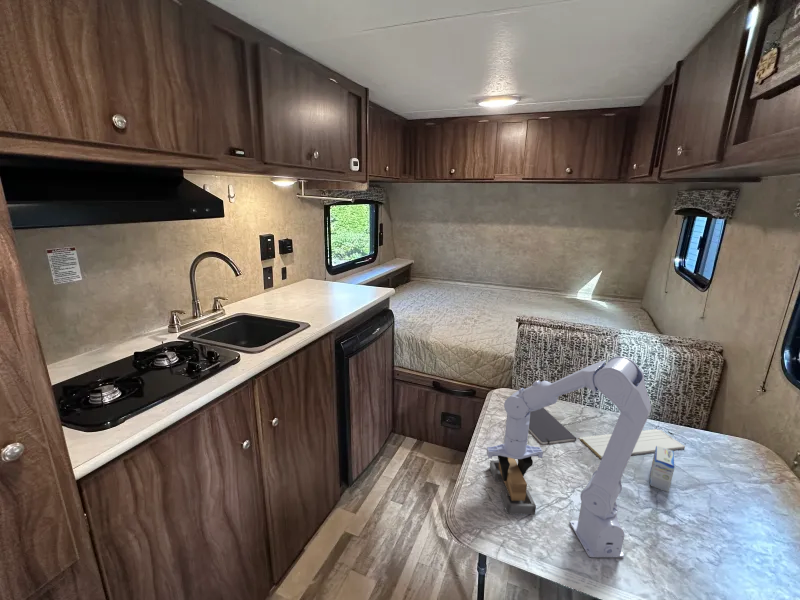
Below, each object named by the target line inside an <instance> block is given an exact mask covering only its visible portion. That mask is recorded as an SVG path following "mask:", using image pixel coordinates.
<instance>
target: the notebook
mask: <svg viewBox="0 0 800 600" xmlns="http://www.w3.org/2000/svg"><path fill="white" fill-rule="evenodd" d="M528 432H530V434H532V435H533V437H535V439H536V440H537V441H538V442H539V443H540V444H542V445H550V444H557V443H563V442H564V443H565V442H572V441H573V442H574V441H577V437H576V436H575V435H574V434H573V433H571V432H570V431H569V430H568V429H567V428H566V427H565V426H564V425H563V424H562V423H561V422H559V420H557V419H556V417H554V416H553V415H552V414H551V413H550V412H549V411H548V410H547V409H545V407H544V408H541V409H539V410H536V411H530V420H529V431H528Z"/></svg>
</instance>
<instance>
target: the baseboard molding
mask: <svg viewBox="0 0 800 600" xmlns="http://www.w3.org/2000/svg"><path fill="white" fill-rule="evenodd" d="M658 427H660V425H658V426H655V428H654V429H647V430H646V429H645V430H644V429H643V430H642V432H641V434H640V436H639V439H638V441H637V443H636V445H635V448H634V450H633V452H632V454H631V456H634V455H642V454H649V453H655V449H656V446H659V447H663V448H666V449H669V450H671V451H674V450H682V449H683V450H684V449H685V447H686V446H685V445H686V443H684V444H682V442H681V443H680V442H679V440H676V438H673V437H675V436H674V433H672V432H671V431H669V430H665V429H662V427H660V428H661V429H662V430H661V429H660V430H659V429H657V428H658ZM664 431H665V432H666V433H665V432H664ZM667 433H668V434H667ZM611 435H612V433H608V434H607V433H606V434H599V435H592V436H591V435H590V436H582V437H578V439H579V440H580V441H581V442H582V443H584V445H585V446H586V447H588V448H589V450H591V451H592V452H593V453H594V455H596V456H597V457H599V458H600V459H602V457H603V455H604V452H605V450H606V447H607V445H608V442H609V440H610V438H611ZM672 436H673V437H672Z"/></svg>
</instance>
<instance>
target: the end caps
mask: <svg viewBox="0 0 800 600" xmlns="http://www.w3.org/2000/svg"><path fill="white" fill-rule="evenodd" d="M489 469H490V472H491V474H492V477H493V480H494V481H495V482H504V481H503V478H502V476H501V473H500V471H499V460H490V463H489ZM500 499H501V500H502V505H503V506H504V509H505V512H506V514H507V515H536V509H537V505H536V503H535V501H534V499H533V497H532V494H531V493H530V490H529V489H526V497H525V501H512V500H511V498H510V495H509V494H507V492H506V490H505V489H501V493H500Z"/></svg>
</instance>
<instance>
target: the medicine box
mask: <svg viewBox="0 0 800 600" xmlns="http://www.w3.org/2000/svg"><path fill="white" fill-rule="evenodd" d="M675 468H676V467H675V451H674V450H669V449H666V448H663V447H659V446H656V449H655V452H653V458H652V461H651V467H650V475H649V486H651V487H653V488H656V489H658V490H661V491H664V492H667V493H669V492H670V487H671V485H672V480H673V475H674V471H675Z"/></svg>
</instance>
